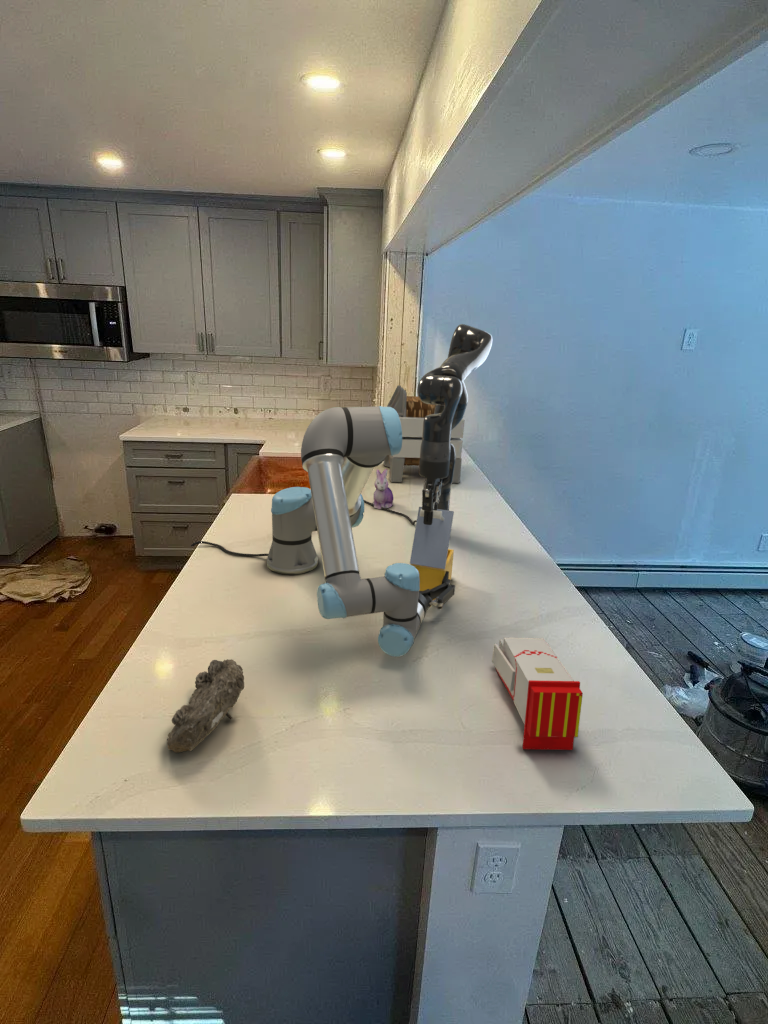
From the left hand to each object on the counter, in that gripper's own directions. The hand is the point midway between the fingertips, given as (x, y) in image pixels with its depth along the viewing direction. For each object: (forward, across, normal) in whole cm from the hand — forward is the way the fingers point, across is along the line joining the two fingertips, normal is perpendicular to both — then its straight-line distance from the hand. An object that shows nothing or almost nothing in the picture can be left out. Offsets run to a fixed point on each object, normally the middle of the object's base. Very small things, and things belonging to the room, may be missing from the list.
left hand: (428, 572), depth 156 cm
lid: (+1, 0, +10) cm, 10 cm away
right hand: (-4, 0, +17) cm, 17 cm away
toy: (-39, +29, -7) cm, 49 cm away
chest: (+4, 0, -7) cm, 8 cm away
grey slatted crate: (+120, -29, -6) cm, 124 cm away
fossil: (-63, -28, -7) cm, 70 cm away
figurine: (+67, -32, -6) cm, 74 cm away
